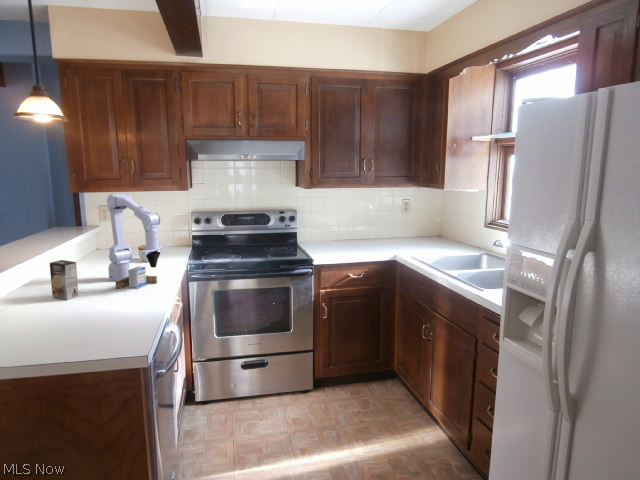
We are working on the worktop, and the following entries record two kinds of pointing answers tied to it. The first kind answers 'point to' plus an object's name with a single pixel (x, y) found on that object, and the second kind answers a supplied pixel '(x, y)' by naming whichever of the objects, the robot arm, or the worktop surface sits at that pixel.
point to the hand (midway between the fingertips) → (153, 267)
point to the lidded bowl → (143, 255)
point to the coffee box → (64, 279)
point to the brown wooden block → (125, 281)
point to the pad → (138, 287)
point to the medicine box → (137, 276)
